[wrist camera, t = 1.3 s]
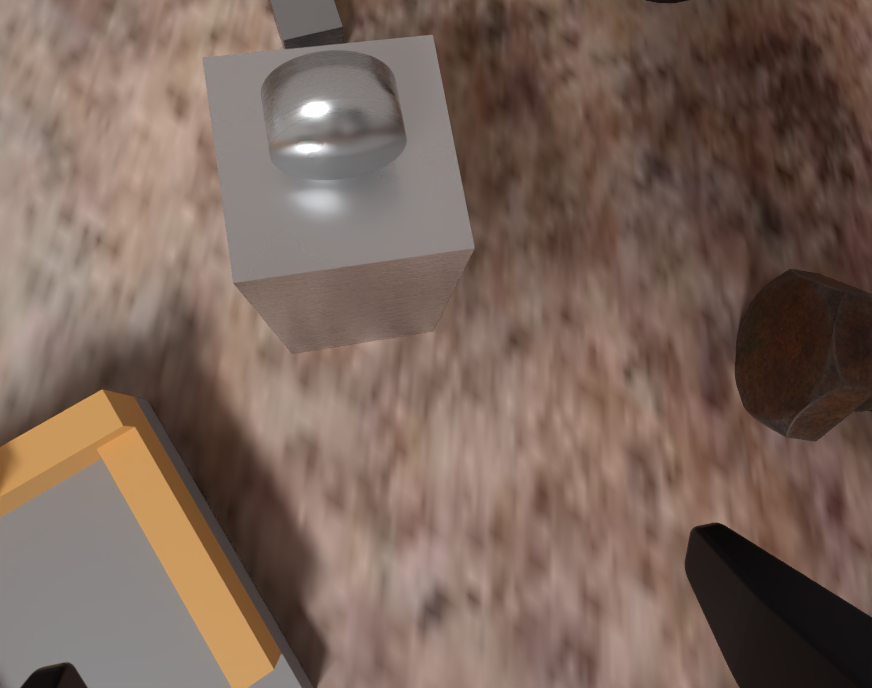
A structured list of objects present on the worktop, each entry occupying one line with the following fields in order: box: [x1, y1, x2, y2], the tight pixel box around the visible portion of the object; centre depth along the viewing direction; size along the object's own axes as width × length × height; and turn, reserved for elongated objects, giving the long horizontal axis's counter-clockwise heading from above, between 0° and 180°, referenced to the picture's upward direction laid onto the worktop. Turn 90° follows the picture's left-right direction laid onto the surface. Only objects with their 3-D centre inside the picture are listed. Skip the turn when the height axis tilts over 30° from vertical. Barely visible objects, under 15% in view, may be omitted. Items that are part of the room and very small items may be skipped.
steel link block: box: [203, 35, 475, 354], centre depth 17 cm, size 5×5×12 cm
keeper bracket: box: [0, 389, 314, 688], centre depth 18 cm, size 11×9×5 cm
